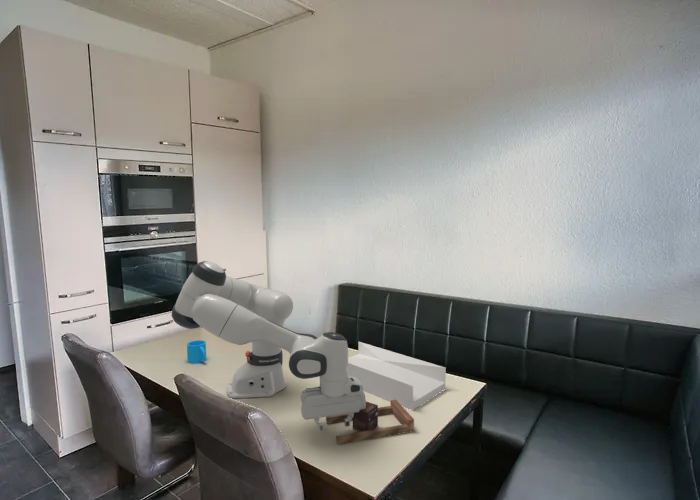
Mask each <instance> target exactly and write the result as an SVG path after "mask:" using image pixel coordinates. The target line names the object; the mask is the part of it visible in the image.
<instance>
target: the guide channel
mask: <svg viewBox="0 0 700 500" xmlns="http://www.w3.org/2000/svg"><path fill="white" fill-rule="evenodd" d="M391 413H392V414H391ZM390 414H391V415H393V416H394V418H395V419H396V418H397V419H396V420H397V421H398V422H399V423H400V424H398V425H393V426H387V427H382V428H381V427H379V428H376V429H374V430H368V431H362V432H360V431H357V432H351V433H345V434H340V435H336V436H335V442H336V445H337V446H339V445H346V444H351V443H356V442H362V441H368V440H375V439H379V437H380V438H384V436H385V437H390V436H389V435H391V436H395V435H394V434H397V435H399V434H398V433H402V434H404V433H403V432H408V433H411V432H410V431H414V432H415V419H414V418H413V416H412V415H411V414H410V413H409V411H407V410H406V408H404V407H402V406H401V404H400V403H399V402H398V401H397V400H391V402H390V405H387V406H380V407H378V417H379V416H383V415H384V416H386V415H390ZM348 415H349V414H343V415H336V416H329V417H325V423H326V424H328V425H329V424H334V423H341V422H345V421H344V419H347V417H348ZM351 421H353V418H352V420H351ZM401 424H402V425H401Z"/></svg>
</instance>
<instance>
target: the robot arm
mask: <svg viewBox="0 0 700 500" xmlns="http://www.w3.org/2000/svg"><path fill="white" fill-rule="evenodd" d="M191 271H192V272H191V273H190V274H189V276H188V278H186V280H185V282H184V283H183V284H182V285H183V286H182V287H181V290H180V293H179V294H178V297H177V299H176V302H175V304H174V305H173V307H172V311H171V317H172V321H174V323H175V324H177V325H178V326H180V327H182V328H183V329H184V328H185V329H189V330H193V329H199V328H200V327H201V328H203V329H204V330H206V332H208V333H210V334H211V335H214V336H216V337H217V338H219V339H221V340H224V341H225V342H227V343H230V344H233V345H237V346H243V345H246V344H247V345H248V344H249V343H251V349H252V350H251V351H250V350H247V351H246V352H245V353H244V354H245V357H246V362H245V363H244V364H242V365H241V366H240V367H239V368H238V369H236V370H235V372H234V374H233V377H232V381H230V382H229V383H228V384H227V386H226V395H227V396H228V397H229V398H231V399H248V398H265V397H266V398H269V397H273V396H274V395H276V393H278V392H280V391H282V390H283V389H285V388H286V386H287V383H286V380H285V377H284V370H283V361H284V360H283V359H284V358H283V357H284V355H283V354H284V353H283V350H284V351H287V352H288V353H289V354H290V356H289V360H288V367H289V370H290V372H291V374H292V375H294V376H295V378H298V379H301V380H307V379H314V378H319V386H315V387H306V388H305V389H304V390H302V391H301V392H300V401H301V408H300V409H301V410H300V413H301V417H302V418H303V419H304V420H307V421H308V420H314V422H315V423H316V425H317V426H316V427H317V431H324V428H323V427H324V424H323V423H322V422H321V421H320V418H326V417H329V416H336V415H343V414H349V415H348V417H347V419H344V421H343V423H344V426H345V428H347V427H350V426H351V422H352V421H353V420H352V418H353V416H354V413H356V412H359V411H360V409H366V401H367V399H366V395H365V394H366V393H365V391H363V385H362V383H361V382H360V380H359V379H358V378H356V377H352V376H348V372H347V366H348V357H349V347H348V345H349V344H348V341H347V339H346V338H345V337H344V336H343V335H342V334H340V333H337V332H332V331H329V332H323V333H322V334H321V335H320V336H319V337H317V336H315V335H314V334H311V333H301V332H297V331H296V332H295V331H293V330H291V329H290V328H287V327H284V323H285V321H286V320H287V319H288V318H289V317H290V316H291V315H292V312H293V310H294V303H293V300H292V298H291V297H290V296H289V295H287V294H286V293H284V292H283V291H279V290H276V289H272V288H267V287H263V286H259V285H256V284H253V283H251V282H247V281H246V280H245V281H244V280H240V279H237V278H234V277H230V276H227V274H226V271H225V270H224V269H223V268H222V267H221V266H220V265H219V264H217V263H215V262H211V261H206V260H204V261H200V262H198V263H196V265H195V266H194V267H193V268H192V270H191ZM282 349H283V350H282ZM319 421H320V422H319Z"/></svg>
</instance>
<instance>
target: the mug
mask: <svg viewBox="0 0 700 500" xmlns="http://www.w3.org/2000/svg"><path fill="white" fill-rule="evenodd" d="M186 352H187V363H189V364H192V365H193V364H201V363H204V362H206V361H207V344H206V341H205V340H200V339H198V340H197V339H196V340H191V341H189V342H186Z"/></svg>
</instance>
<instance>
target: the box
mask: <svg viewBox="0 0 700 500" xmlns="http://www.w3.org/2000/svg"><path fill="white" fill-rule="evenodd" d="M378 408H379V406H378V404H376V403H372V402H368V401H367V400H366V409H360V411H359V412H356V413H354V416H353V420H352V429H353V430H354V431H355V430H356V431H357V432H362V431H368V430H374V429H378V426H379V423H378V422H379V416H378Z"/></svg>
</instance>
